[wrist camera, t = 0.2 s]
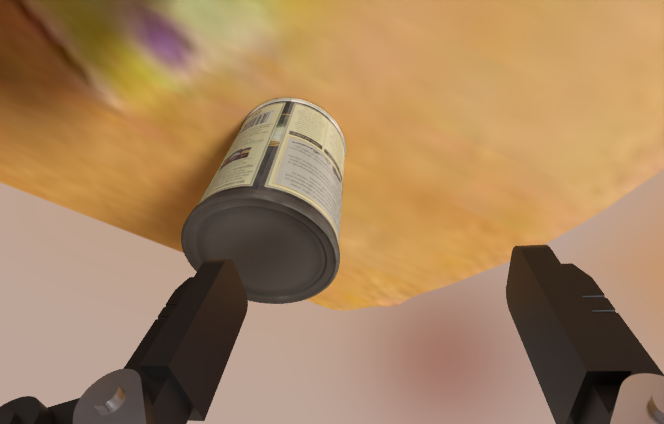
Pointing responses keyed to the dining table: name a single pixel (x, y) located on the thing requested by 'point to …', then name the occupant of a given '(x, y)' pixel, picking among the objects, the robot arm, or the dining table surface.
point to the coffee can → (275, 203)
